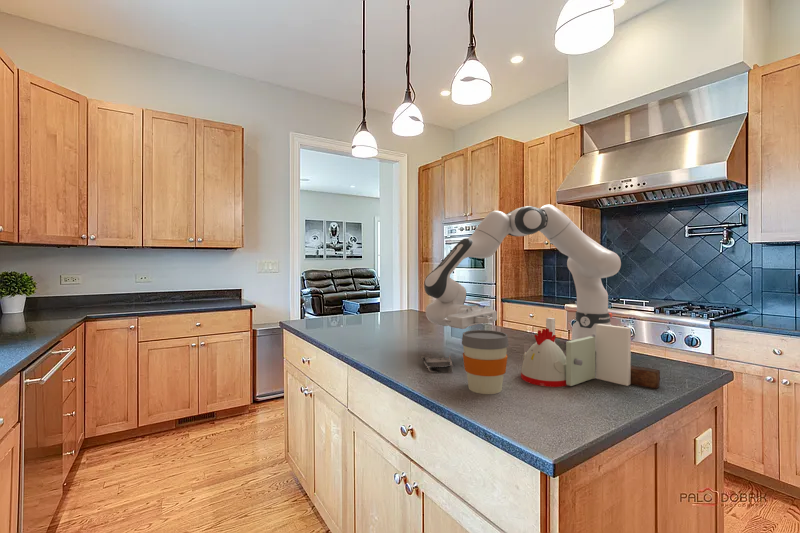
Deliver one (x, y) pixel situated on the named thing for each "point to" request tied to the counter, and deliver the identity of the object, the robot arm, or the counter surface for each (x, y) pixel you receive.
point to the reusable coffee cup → (485, 360)
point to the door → (580, 360)
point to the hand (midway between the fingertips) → (491, 320)
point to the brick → (645, 377)
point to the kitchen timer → (544, 362)
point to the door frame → (609, 352)
